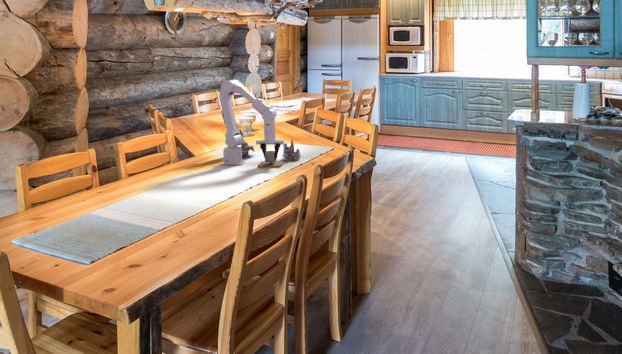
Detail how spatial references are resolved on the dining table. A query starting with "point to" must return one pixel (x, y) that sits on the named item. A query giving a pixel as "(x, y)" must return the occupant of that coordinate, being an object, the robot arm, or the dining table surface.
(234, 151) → the robot arm
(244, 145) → the statue
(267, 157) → the collar
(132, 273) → the dining table surface
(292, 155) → the red grey chunky piece
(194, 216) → the dining table surface
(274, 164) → the shaft block
